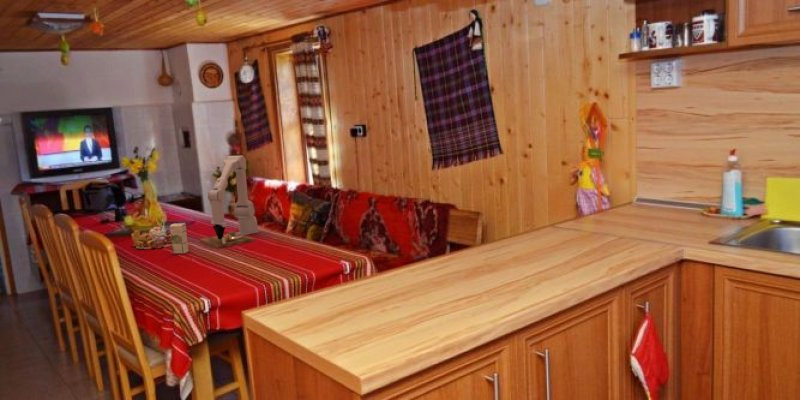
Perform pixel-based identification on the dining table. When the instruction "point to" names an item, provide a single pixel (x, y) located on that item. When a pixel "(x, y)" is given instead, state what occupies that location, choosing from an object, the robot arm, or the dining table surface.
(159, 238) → the candy landscape model
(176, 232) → the syrup box
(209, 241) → the base board
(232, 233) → the lever handle
